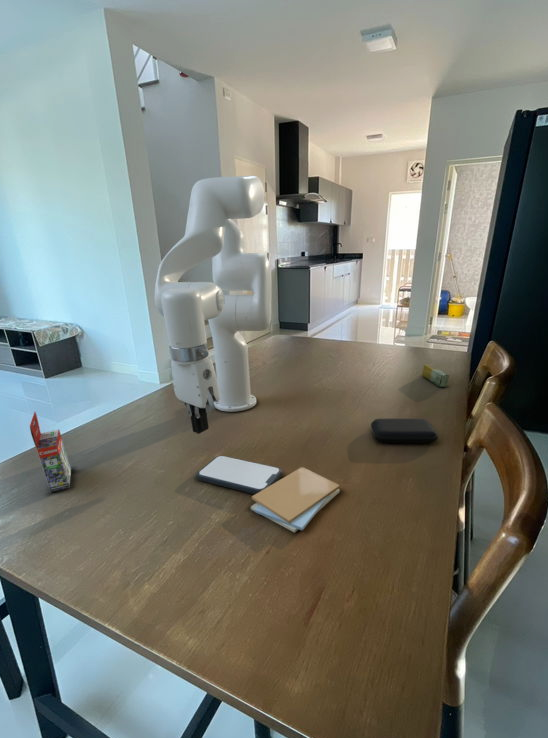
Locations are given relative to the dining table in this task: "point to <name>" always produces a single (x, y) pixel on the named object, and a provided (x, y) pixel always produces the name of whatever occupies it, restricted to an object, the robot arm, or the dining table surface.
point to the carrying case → (403, 430)
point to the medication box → (435, 375)
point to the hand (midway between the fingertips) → (200, 430)
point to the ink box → (51, 456)
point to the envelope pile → (295, 498)
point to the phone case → (239, 474)
